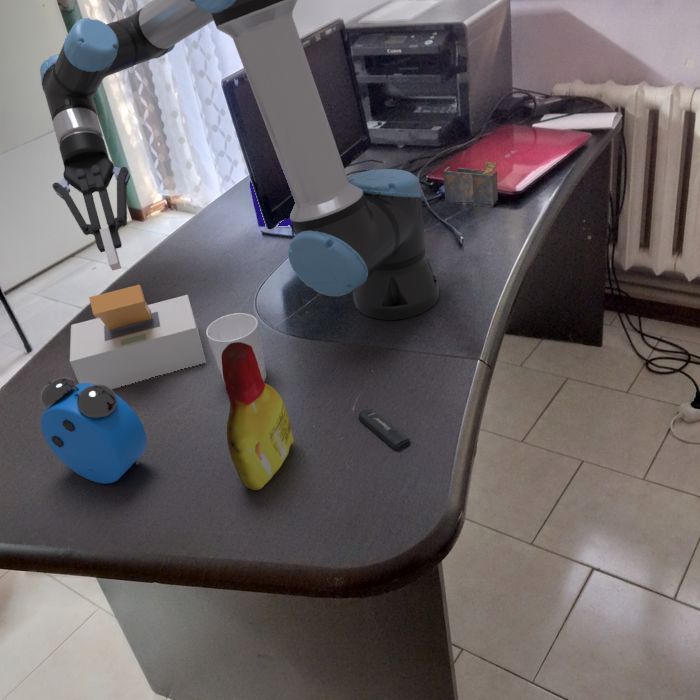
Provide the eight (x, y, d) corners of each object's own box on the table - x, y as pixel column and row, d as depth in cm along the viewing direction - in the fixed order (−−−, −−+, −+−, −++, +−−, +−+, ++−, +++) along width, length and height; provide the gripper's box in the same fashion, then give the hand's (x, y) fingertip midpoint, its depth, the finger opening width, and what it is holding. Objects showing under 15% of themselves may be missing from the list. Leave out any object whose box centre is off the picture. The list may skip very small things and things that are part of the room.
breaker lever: (105, 319, 121) (89, 297, 110) (151, 307, 122) (139, 284, 111) (109, 335, 120) (93, 314, 109) (155, 322, 121) (144, 301, 110)
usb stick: (412, 446, 99) (411, 437, 98) (397, 455, 98) (395, 446, 97) (372, 413, 106) (370, 404, 105) (357, 421, 105) (355, 413, 104)
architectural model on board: (498, 204, 159) (497, 161, 154) (493, 210, 157) (491, 166, 152) (451, 198, 165) (448, 157, 159) (445, 204, 163) (442, 162, 157)
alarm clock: (160, 465, 102) (127, 378, 93) (131, 496, 97) (95, 408, 89) (89, 446, 107) (52, 363, 99) (59, 475, 103) (18, 391, 94)
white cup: (230, 401, 112) (215, 347, 106) (214, 377, 118) (199, 324, 112) (277, 382, 114) (265, 328, 109) (259, 359, 120) (246, 307, 115)
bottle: (269, 502, 93) (235, 376, 82) (225, 495, 95) (185, 371, 84) (304, 440, 102) (277, 319, 91) (263, 435, 104) (232, 316, 93)
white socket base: (84, 358, 128) (70, 324, 124) (197, 328, 131) (187, 294, 127) (84, 396, 118) (69, 361, 114) (206, 362, 122) (195, 327, 118)
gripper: (123, 144, 131) (157, 264, 127) (49, 161, 129) (81, 284, 125) (114, 122, 124) (150, 248, 120) (36, 139, 122) (69, 269, 117)
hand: (115, 266), depth 122 cm, fingers closed
